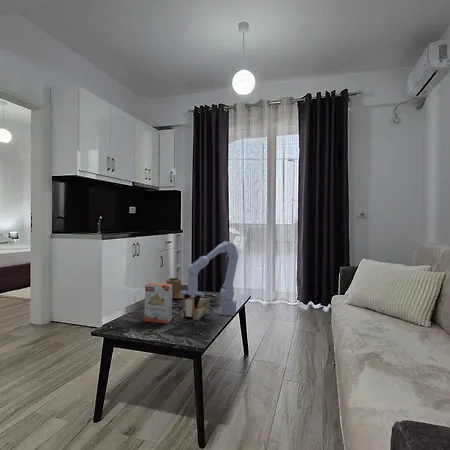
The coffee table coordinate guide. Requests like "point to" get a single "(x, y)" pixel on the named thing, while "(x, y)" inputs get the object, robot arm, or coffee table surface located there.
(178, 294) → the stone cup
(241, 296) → the coffee table surface
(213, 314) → the coffee table surface
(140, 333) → the coffee table surface
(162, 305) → the cracker box
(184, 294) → the robot arm
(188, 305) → the book
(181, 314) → the book rack
